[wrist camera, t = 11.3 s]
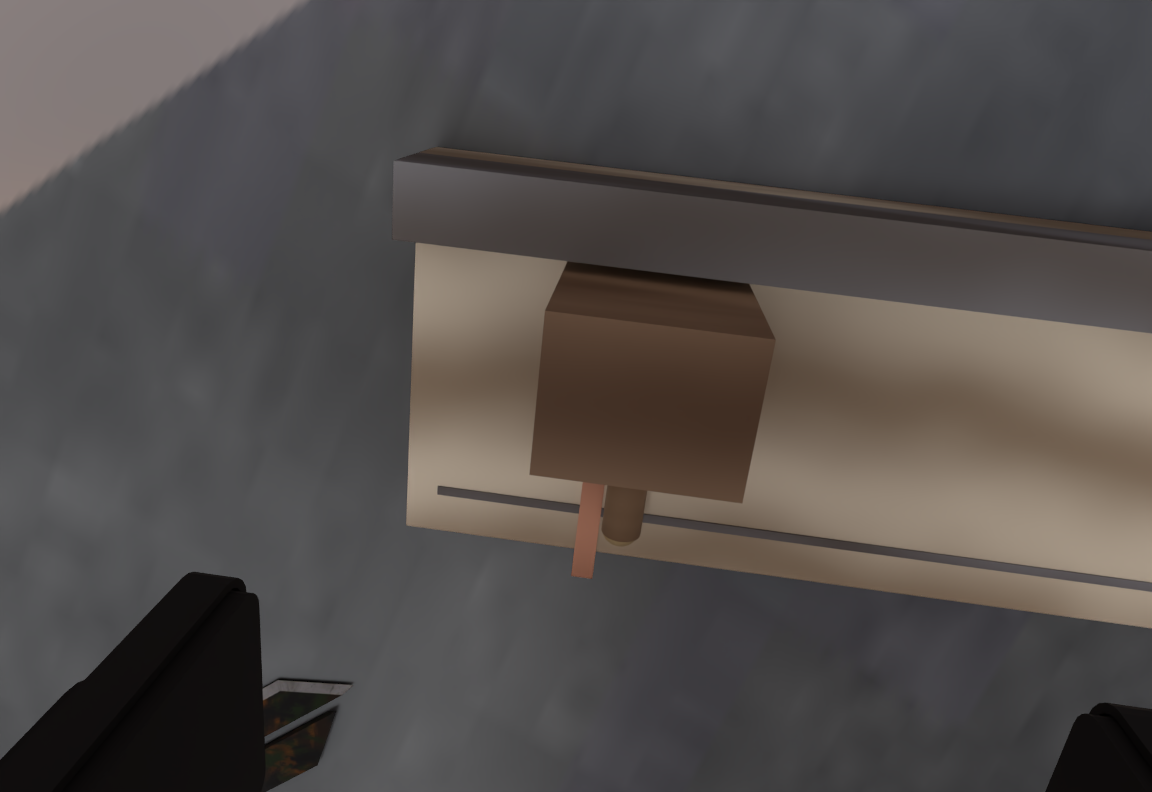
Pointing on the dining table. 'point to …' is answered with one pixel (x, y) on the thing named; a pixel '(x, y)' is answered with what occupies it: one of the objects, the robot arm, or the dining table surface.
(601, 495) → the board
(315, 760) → the knife
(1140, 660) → the dining table surface
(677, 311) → the brown block with peg
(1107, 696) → the dining table surface
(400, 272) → the dining table surface
